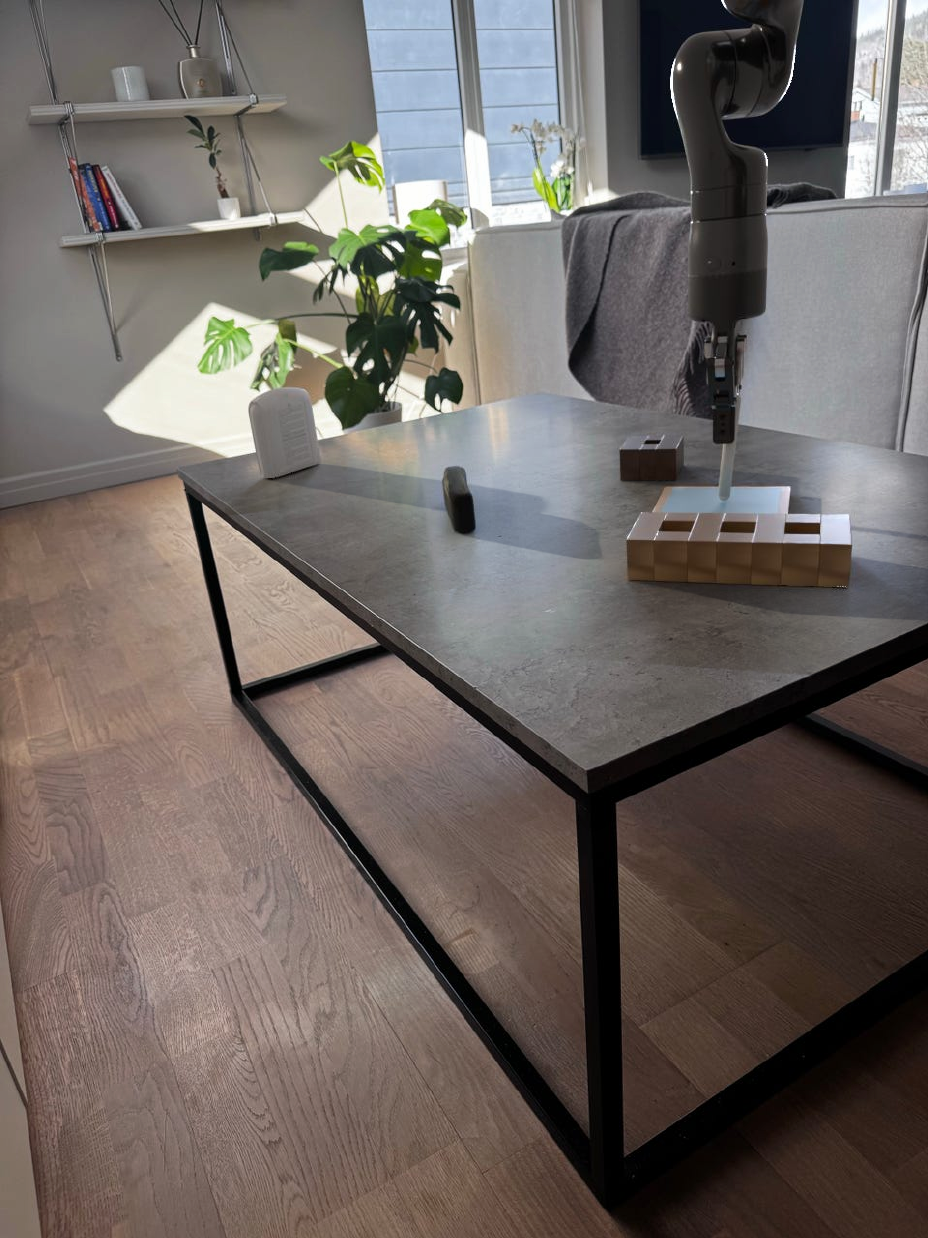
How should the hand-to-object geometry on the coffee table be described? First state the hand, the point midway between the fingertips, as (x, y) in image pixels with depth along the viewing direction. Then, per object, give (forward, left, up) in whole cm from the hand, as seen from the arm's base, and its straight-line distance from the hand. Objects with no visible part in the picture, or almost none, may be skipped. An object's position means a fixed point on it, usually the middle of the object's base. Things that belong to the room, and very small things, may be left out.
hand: (724, 440), depth 94 cm
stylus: (0, 0, -7) cm, 7 cm away
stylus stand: (+10, -15, -8) cm, 20 cm away
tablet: (0, +3, -8) cm, 8 cm away
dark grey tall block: (+30, +3, -8) cm, 31 cm away
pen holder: (-3, +17, -8) cm, 19 cm away
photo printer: (+65, -17, -8) cm, 68 cm away
